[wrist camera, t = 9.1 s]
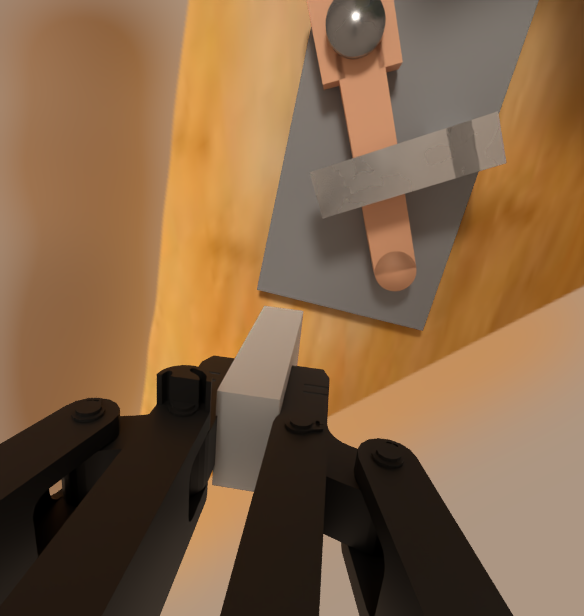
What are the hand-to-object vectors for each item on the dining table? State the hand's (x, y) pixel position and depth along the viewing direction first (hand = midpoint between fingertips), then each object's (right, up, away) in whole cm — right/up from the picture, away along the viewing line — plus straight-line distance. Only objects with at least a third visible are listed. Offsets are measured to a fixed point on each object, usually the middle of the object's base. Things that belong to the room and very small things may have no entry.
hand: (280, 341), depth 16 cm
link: (+6, +13, +14) cm, 20 cm away
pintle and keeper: (+7, +13, +14) cm, 21 cm away
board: (+7, +13, +16) cm, 22 cm away
